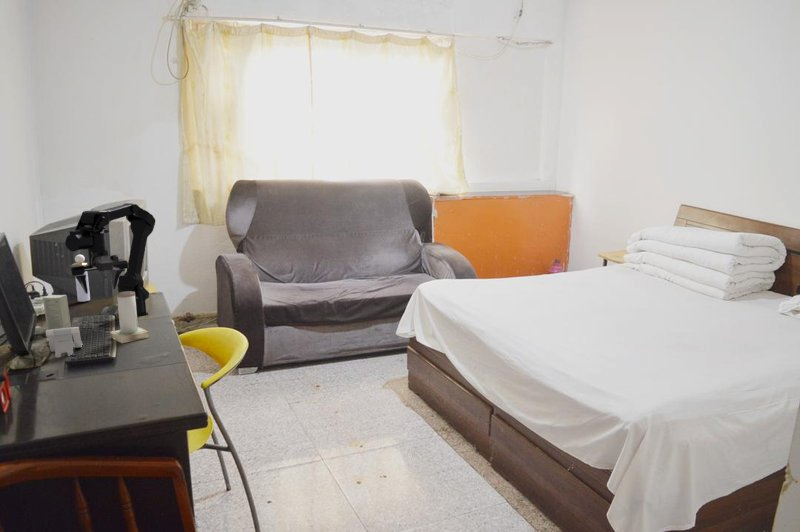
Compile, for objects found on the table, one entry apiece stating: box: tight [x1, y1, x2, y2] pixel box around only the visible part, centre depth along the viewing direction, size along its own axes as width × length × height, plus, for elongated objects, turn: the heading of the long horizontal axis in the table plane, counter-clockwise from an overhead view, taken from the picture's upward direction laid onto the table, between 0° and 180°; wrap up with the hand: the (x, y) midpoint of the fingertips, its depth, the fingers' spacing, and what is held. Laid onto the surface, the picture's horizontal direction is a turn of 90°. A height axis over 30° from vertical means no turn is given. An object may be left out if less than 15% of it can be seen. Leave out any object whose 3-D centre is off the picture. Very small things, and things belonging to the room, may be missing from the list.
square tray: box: [109, 326, 150, 344], centre depth 197 cm, size 9×9×2 cm
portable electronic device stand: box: [45, 326, 83, 358], centre depth 181 cm, size 9×8×8 cm
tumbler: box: [116, 291, 139, 333], centre depth 195 cm, size 6×6×13 cm
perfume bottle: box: [71, 254, 91, 302], centre depth 243 cm, size 6×6×20 cm
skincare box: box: [42, 294, 72, 330], centre depth 205 cm, size 6×4×12 cm
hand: (100, 291), depth 207 cm, fingers open, 9 cm apart
